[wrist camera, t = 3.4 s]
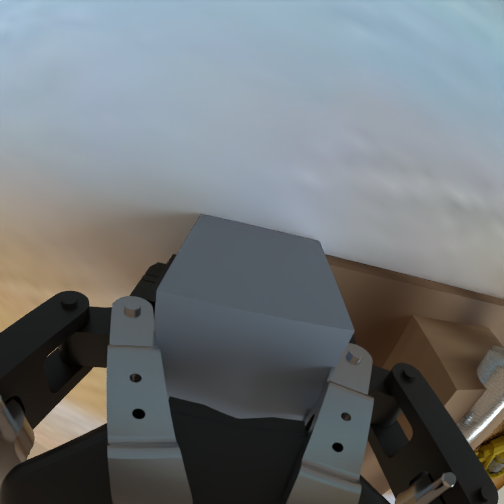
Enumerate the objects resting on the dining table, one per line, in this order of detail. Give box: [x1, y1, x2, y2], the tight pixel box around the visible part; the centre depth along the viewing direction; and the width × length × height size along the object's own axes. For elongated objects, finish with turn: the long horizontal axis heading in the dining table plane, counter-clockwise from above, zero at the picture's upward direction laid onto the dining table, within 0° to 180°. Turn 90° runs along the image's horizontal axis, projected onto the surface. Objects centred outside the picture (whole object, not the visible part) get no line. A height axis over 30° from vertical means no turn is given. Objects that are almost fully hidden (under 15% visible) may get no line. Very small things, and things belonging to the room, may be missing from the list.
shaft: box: [457, 346, 504, 444], centre depth 11 cm, size 2×9×2 cm, turn 167°
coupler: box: [154, 214, 355, 420], centre depth 11 cm, size 5×5×6 cm
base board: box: [325, 255, 504, 495], centre depth 17 cm, size 16×28×6 cm, turn 167°
